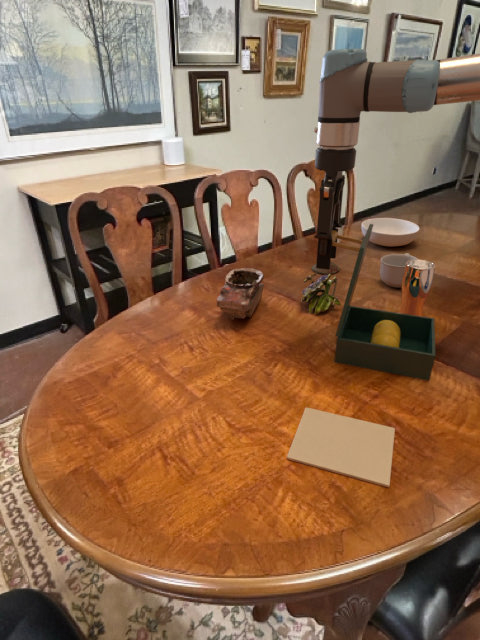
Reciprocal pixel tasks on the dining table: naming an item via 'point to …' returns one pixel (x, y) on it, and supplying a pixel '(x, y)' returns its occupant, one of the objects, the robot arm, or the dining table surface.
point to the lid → (356, 270)
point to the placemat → (344, 446)
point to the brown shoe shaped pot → (241, 292)
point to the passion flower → (324, 298)
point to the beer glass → (416, 286)
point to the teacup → (394, 268)
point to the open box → (405, 360)
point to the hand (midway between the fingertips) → (326, 262)
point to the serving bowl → (390, 231)
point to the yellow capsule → (386, 334)
